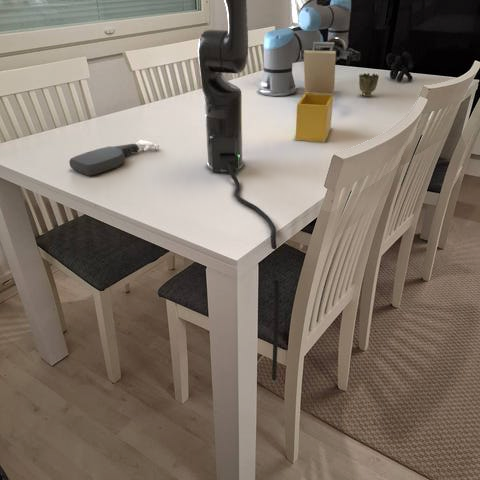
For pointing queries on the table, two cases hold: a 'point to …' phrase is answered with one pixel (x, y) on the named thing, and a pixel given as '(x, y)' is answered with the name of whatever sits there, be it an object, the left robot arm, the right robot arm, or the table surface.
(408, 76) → the squiggle
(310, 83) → the lid
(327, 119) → the yellow hollow box
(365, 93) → the cup
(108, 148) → the spray bottle
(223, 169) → the left robot arm
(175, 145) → the table surface
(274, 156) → the table surface
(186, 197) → the table surface
